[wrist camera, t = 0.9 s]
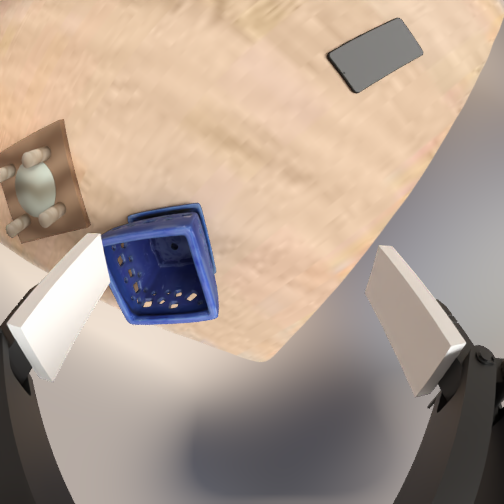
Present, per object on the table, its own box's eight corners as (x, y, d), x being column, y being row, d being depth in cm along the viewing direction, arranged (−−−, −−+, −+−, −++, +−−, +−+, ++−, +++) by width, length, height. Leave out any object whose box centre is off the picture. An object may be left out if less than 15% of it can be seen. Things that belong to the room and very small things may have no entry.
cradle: (-1, 154, 33) (-23, 163, 28) (63, 119, 32) (39, 123, 27) (24, 240, 41) (6, 256, 36) (90, 224, 41) (71, 241, 35)
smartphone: (425, 53, 28) (356, 94, 32) (422, 54, 28) (354, 94, 33) (399, 16, 25) (326, 53, 29) (397, 17, 26) (324, 55, 30)
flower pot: (149, 280, 46) (127, 328, 35) (124, 207, 40) (88, 242, 29) (226, 271, 45) (220, 321, 34) (208, 190, 39) (193, 222, 28)
